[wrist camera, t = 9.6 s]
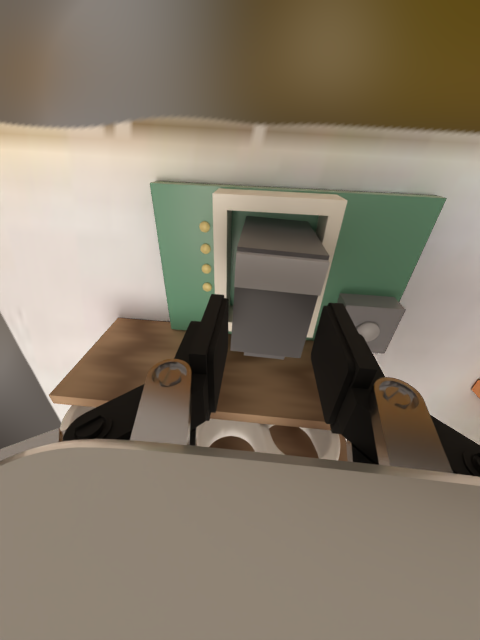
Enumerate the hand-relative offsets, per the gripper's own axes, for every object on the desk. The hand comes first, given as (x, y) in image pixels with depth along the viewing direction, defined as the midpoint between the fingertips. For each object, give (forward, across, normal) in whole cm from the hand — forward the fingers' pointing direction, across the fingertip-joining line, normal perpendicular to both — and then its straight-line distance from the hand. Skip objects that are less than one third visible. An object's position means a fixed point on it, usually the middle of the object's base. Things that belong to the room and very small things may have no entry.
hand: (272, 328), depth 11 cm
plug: (+8, 0, 0) cm, 8 cm away
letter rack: (+9, +3, +10) cm, 14 cm away
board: (+9, -1, +1) cm, 9 cm away
